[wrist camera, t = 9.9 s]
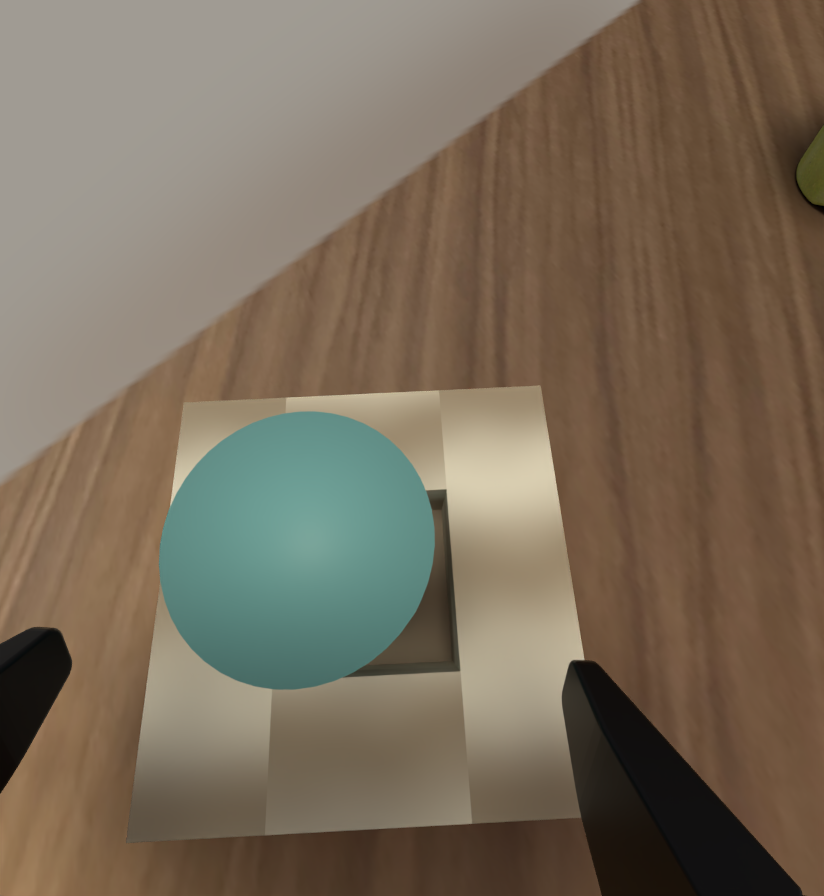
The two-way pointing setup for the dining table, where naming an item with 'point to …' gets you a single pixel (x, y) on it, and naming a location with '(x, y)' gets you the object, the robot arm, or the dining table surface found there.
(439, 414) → the cream square wooden frame
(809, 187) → the plant pot
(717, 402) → the dining table surface
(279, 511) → the teal cylinder
